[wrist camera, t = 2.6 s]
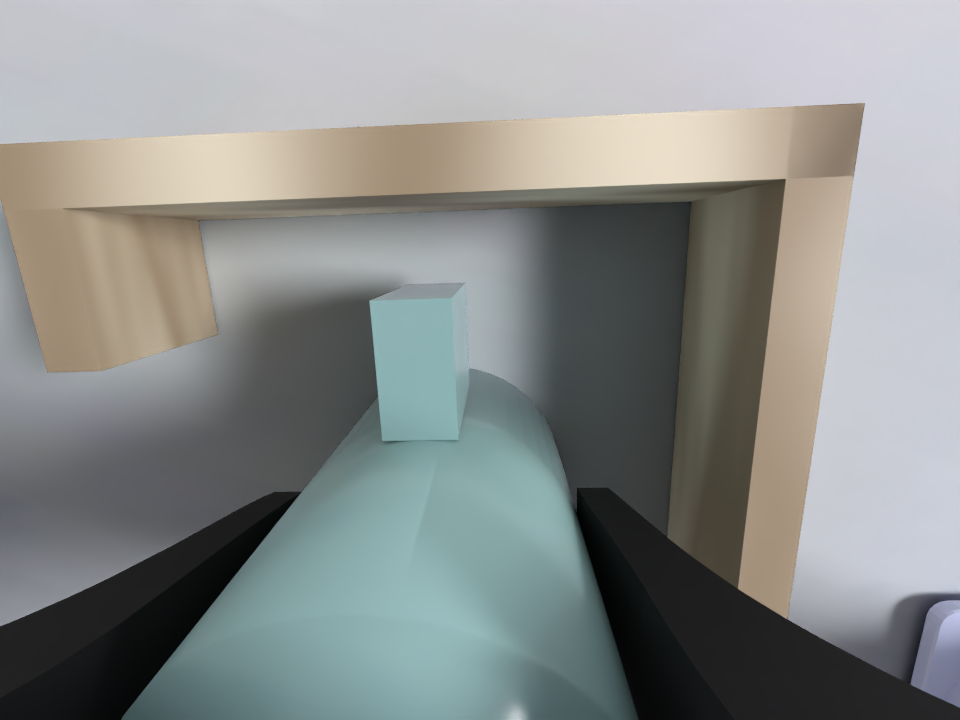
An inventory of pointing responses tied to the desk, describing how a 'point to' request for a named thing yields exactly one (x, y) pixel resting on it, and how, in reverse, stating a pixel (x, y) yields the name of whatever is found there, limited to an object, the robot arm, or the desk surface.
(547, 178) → the cradle
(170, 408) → the desk surface
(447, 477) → the teal cylinder with tab
